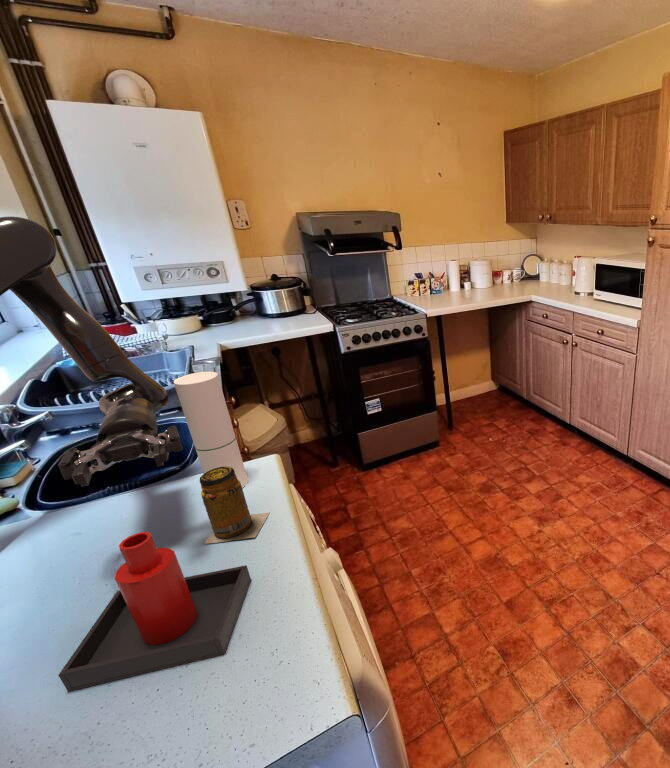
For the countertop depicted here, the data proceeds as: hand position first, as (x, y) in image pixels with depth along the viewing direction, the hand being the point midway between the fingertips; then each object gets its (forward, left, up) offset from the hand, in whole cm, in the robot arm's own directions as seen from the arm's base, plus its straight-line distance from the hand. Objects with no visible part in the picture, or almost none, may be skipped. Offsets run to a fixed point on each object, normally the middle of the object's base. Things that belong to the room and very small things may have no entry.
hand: (121, 470), depth 64 cm
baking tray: (+5, -12, -20) cm, 24 cm away
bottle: (+5, -12, -19) cm, 23 cm away
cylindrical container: (+2, +25, -20) cm, 32 cm away
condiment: (+8, +9, -20) cm, 24 cm away
